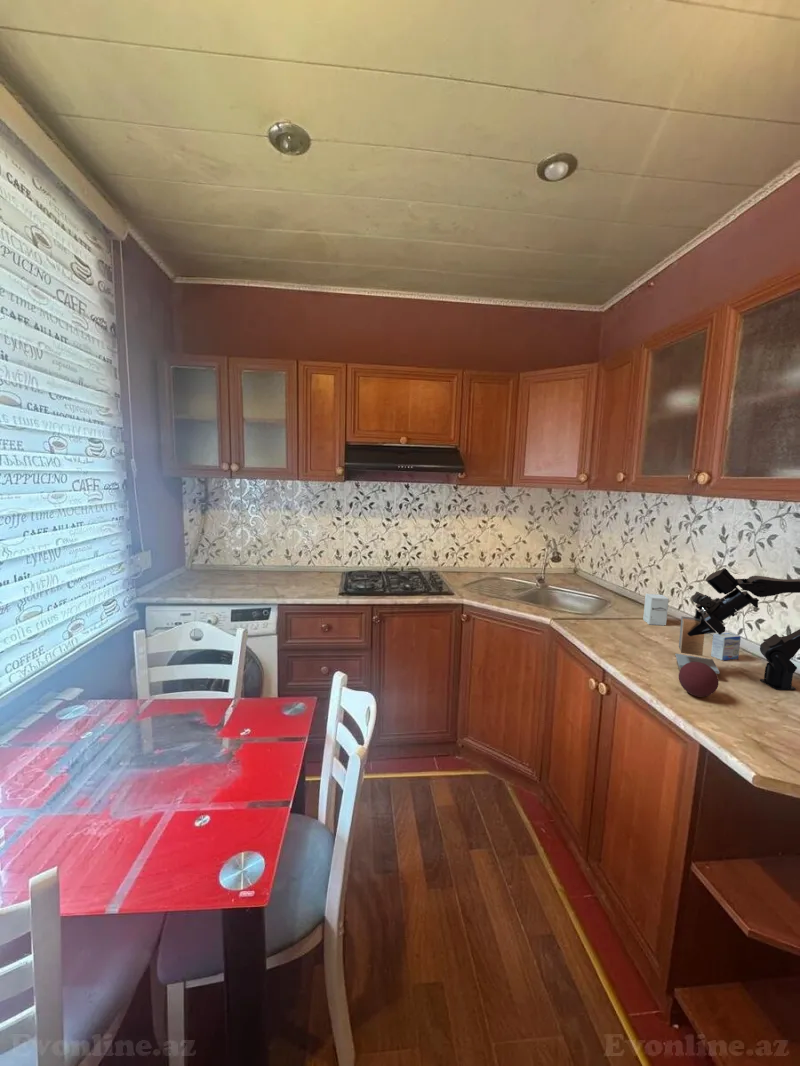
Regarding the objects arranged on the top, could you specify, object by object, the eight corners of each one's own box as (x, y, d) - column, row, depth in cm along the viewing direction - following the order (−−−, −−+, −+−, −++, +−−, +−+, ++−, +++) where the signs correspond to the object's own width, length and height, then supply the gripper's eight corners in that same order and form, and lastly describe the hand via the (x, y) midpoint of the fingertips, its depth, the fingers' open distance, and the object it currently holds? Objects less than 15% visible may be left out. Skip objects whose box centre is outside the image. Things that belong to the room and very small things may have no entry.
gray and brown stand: (711, 668, 154) (712, 659, 153) (718, 681, 144) (719, 671, 144) (674, 662, 158) (675, 653, 158) (678, 674, 149) (679, 664, 148)
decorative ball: (670, 685, 140) (673, 655, 139) (704, 688, 139) (708, 657, 138) (687, 701, 130) (691, 669, 129) (724, 704, 129) (728, 671, 128)
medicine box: (721, 661, 160) (724, 637, 159) (710, 656, 165) (712, 633, 164) (738, 659, 163) (741, 636, 161) (726, 654, 167) (729, 632, 166)
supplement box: (648, 624, 199) (651, 597, 198) (642, 619, 206) (645, 593, 205) (666, 626, 198) (669, 598, 196) (660, 620, 205) (662, 594, 204)
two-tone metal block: (699, 649, 153) (702, 618, 151) (702, 655, 147) (705, 623, 146) (678, 646, 155) (681, 616, 154) (681, 652, 150) (683, 621, 149)
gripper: (705, 579, 155) (666, 606, 161) (716, 591, 138) (672, 620, 144) (730, 604, 153) (690, 630, 159) (744, 619, 136) (698, 648, 142)
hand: (687, 631), depth 151 cm, fingers closed on two-tone metal block, 6 cm apart
